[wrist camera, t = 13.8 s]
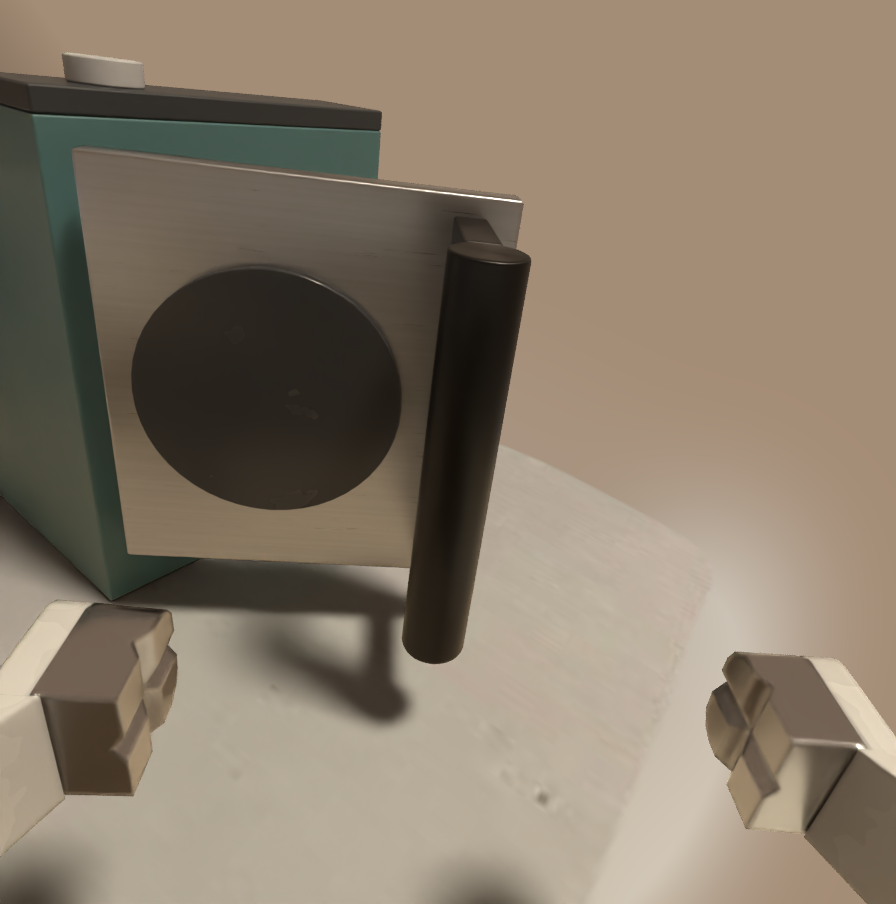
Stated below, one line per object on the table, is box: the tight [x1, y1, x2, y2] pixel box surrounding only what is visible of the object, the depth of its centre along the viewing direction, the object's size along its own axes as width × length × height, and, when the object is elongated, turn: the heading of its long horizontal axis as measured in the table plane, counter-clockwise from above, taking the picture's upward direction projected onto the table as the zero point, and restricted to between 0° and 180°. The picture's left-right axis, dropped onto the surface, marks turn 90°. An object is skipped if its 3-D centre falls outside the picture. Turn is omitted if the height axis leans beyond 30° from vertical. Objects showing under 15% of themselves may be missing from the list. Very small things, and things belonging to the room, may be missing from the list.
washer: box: [0, 52, 382, 600], centre depth 24 cm, size 11×11×15 cm
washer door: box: [72, 145, 531, 664], centre depth 16 cm, size 5×10×11 cm, turn 94°
